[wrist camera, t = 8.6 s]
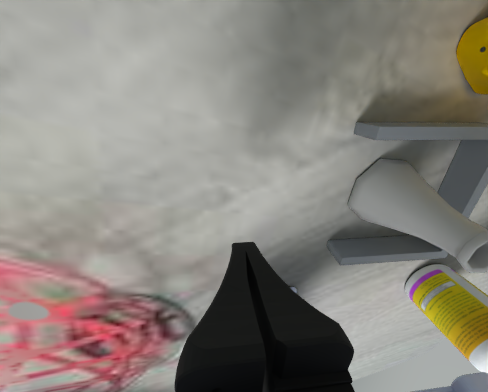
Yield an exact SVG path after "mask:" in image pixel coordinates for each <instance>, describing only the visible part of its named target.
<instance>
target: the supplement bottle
mask: <svg viewBox="0 0 488 392" xmlns="http://www.w3.org/2000/svg"><path fill="white" fill-rule="evenodd" d="M405 292H406V294H407V296H408V297H409V298H410V299H411V300H412V301H413V302H414V303H415V305H416V306H417V307H418V308H419V309H420V310H421V311H422V312H423V313H424V314H425V315H426V316H427V317H428V318H429V319H430V320H431V321H432V322H433V323H434V324H435V326H436V327H437V328H438V329H439V330H440V331H441V332H442V333H443V334H444V335H445V336H446V337H447V338H448V339H449V340H450V341H451V342H452V344H453V345H454V346H455V347H456V348H457V349H458V350H459V351H460V352H461V353H462V354H463V355H464V356H465V357H466V358H467V359H468V360H469V362H470V363H471V364H472V365H473V366H474V367H475V368H476V369H478V370H479V371H480V372H485V373H488V295H486V294H485V293H484V292H482V291H481V290H480V289H478V288H477V287H476V286H474V285H473V284H472V283H470V282H469V281H468V280H466V279H465V278H464V277H462V276H461V275H460V274H458V273H457V272H456V271H454V270H453V269H451V268H450V267H448V266H446V265H442V264H434V265H429V266H426V267H424V268H421V269H420V270H418V271H417V272H415V273H414V274H413V275H412V276H411V277H410V278H409V280H408V281H407V283H406V286H405Z"/></svg>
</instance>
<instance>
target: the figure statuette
mask: <svg viewBox="0 0 488 392" xmlns="http://www.w3.org/2000/svg"><path fill="white" fill-rule="evenodd" d="M456 53H457V59H458V62H459V64H460V67H461V69H462V71H463V73H464V76H465V79H466V80H467V81H468V83H469V84H470V86H471V87H472V89H473V90H474V92H475V93H478V94H488V17H487V18H485V19H483V20H480V21H478V22H476V23H475V24H473V25H472V26H470V27H469V28H468V29H467V30H466V32H465V33H464V34H463V36H462V38H461V40H460V42H459V44H458V47H457V51H456Z"/></svg>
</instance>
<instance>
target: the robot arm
mask: <svg viewBox="0 0 488 392" xmlns="http://www.w3.org/2000/svg"><path fill="white" fill-rule="evenodd" d="M353 354H354V349H353V346H352V344H351V343H350V341H349V339H348V337H347V336H346V334H345V332H344V331H343V329H342V328H341V326H340V325H339V323H337V322H336V321H334V320H332V319H331V318H329V317H328V316H326V315H324V314H323V313H321V312H320V311H318V310H317V309H315V308H314V307H313V306H311V305H310V304H309V303H307V302H306V301H305V300H304V299H302V298H301V297H300V296H299V295H297V290H296V288H295V287H289V286H288V285H287V284H286V283H285V282H284V281H283V280H282V279H281V278H280V277H279V276H278V275H277V274H276V272H275V271H274V270H273V269H272V268H271V266H270V265H269V264H268V262H267V261H266V260H265V258H264V257H263V256H262V254H261V253H260V251H259V249H258V248H257V246H256V244H255V243H254V242H243V243H233V244H232V253H231V258H230V262H229V265H228V268H227V271H226V274H225V277H224V279H223V282H222V284H221V286H220V288H219V290H218V292H217V294H216V296H215V298H214V300H213V302H212V303H211V305H210V307H209V308H208V310H207V311H206V313H205V315H204V316H203V318H202V319H201V321H200V322H199V323H198V325H197V326H196V327H195V329H194V330H193V331H192V333H191V334H190V335H189V337H188V338H187V341H186V343H185V345H184V348H183V351H182V353H181V356H180V359H179V363H178V367H177V372H176V378H175V392H355V391H354V389H353V387H352V385H351V383H352V378H351V376H350V373H349V371H348V367H349V365H350V363H351V360H352V358H353ZM412 392H488V373H485V372H481V373H474V374H466V375H462V376H459V377H458V378H456V379H455V380H454V381H453V382H452V384H451V386H448V387H441V388H434V389H427V390H419V391H412Z"/></svg>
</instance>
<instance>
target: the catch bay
mask: <svg viewBox="0 0 488 392" xmlns="http://www.w3.org/2000/svg"><path fill="white" fill-rule="evenodd" d="M354 134H356V135H360V136H363V137H367V138H370V139H374V140H462V141H461V143H460V145H459V147H458V150H457V152H456V154H455V156H454V158H453V160H452V163H451V165H450V167H449V169H448V171H447V174H446V176H445V178H444V180H443V182H442V184H441V187H440V189H439V191H438V194H439V195H440V196H441V197H442V198H443V199H444V200H445V201H446V202H447V203H448V204H449V205H450V206H451V207H453V208H454V209H455V210H457V211H458V212H460V213H461V214H462V215H464V216H465V217H466V218H469V216H470V214H471V212H472V211H473V209H474V207H475V205H476V204H477V202H478V200H479V198H480V196H481V195H482V193H483V191H484V189H485V188H486V186H487V184H488V124H485V123H408V122H356V126H355V130H354ZM327 248H328V249H329V251H330V252H331V253H332V255H333V256H334V258H335V259H336V260H337V262H338V263H339V265H353V264H367V263H382V262H396V261H410V260H424V259H438V258H446V257H447V255H448V252H446V251H445V250H443V249H441V248H439V247H437V246H435V245H433V244H431V243H429V242H427V241H425V240H423V239H421V238H419V237H416V236H413V235H409V236H391V237H374V238H356V239H339V240H328V244H327Z"/></svg>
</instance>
